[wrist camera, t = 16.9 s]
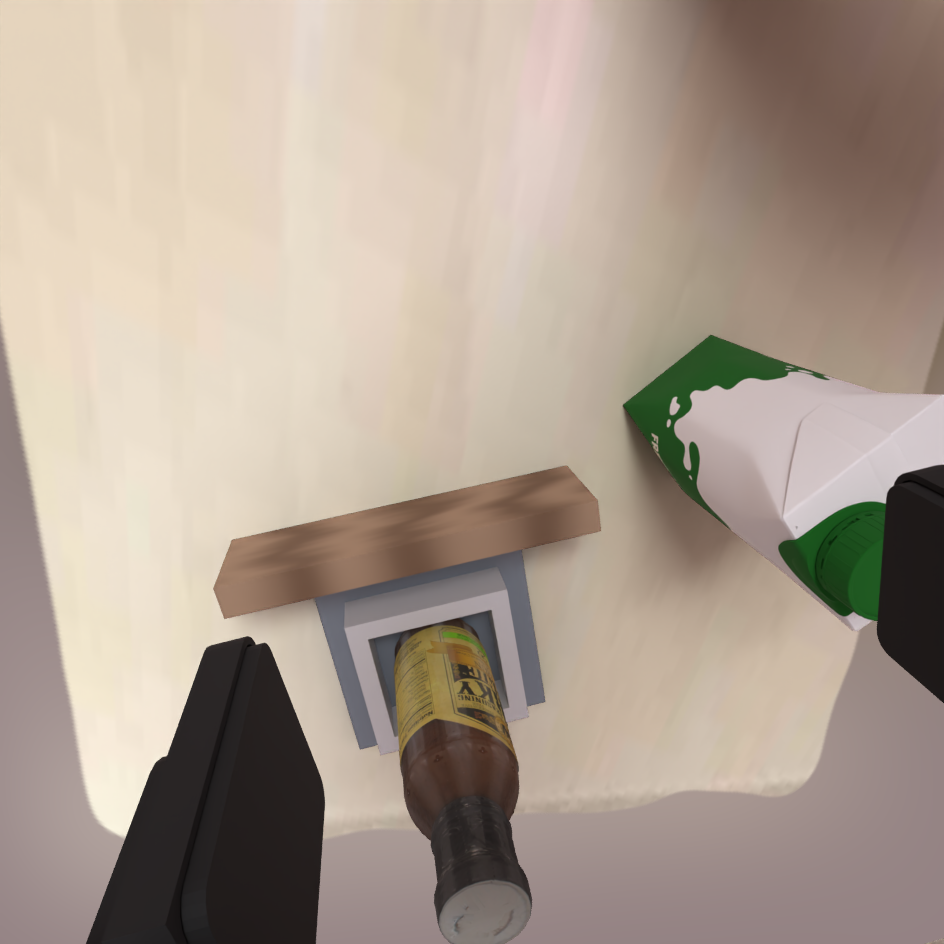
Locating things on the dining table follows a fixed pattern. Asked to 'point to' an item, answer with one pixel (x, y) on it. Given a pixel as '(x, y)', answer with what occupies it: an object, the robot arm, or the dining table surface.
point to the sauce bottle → (461, 780)
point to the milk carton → (791, 462)
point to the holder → (423, 603)
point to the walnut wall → (403, 540)
